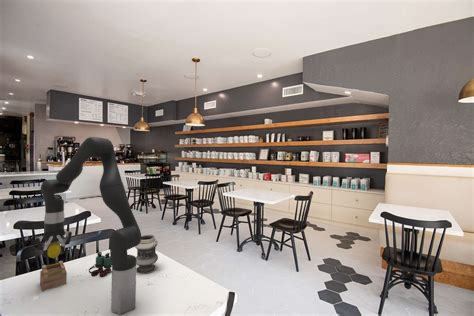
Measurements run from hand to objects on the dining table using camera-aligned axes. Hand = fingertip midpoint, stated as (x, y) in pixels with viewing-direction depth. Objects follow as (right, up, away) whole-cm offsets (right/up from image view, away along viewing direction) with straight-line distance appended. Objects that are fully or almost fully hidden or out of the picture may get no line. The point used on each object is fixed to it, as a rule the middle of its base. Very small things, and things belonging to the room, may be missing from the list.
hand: (54, 255), depth 111 cm
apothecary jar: (+38, -15, +17) cm, 44 cm away
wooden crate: (-1, -14, 0) cm, 14 cm away
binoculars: (+16, -14, +10) cm, 24 cm away
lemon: (0, -2, 0) cm, 2 cm away
